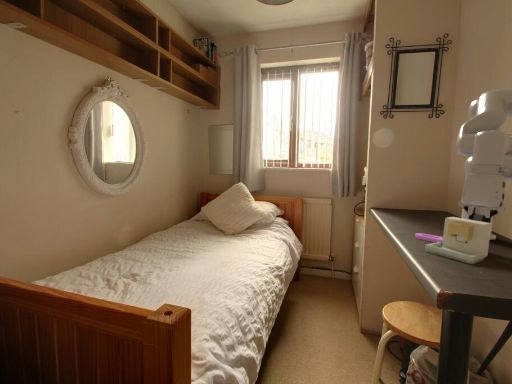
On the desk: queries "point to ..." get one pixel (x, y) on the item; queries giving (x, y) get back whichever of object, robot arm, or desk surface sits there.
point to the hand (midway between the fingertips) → (478, 227)
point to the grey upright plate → (476, 217)
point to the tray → (454, 253)
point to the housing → (478, 238)
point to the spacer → (460, 230)
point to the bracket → (429, 237)
